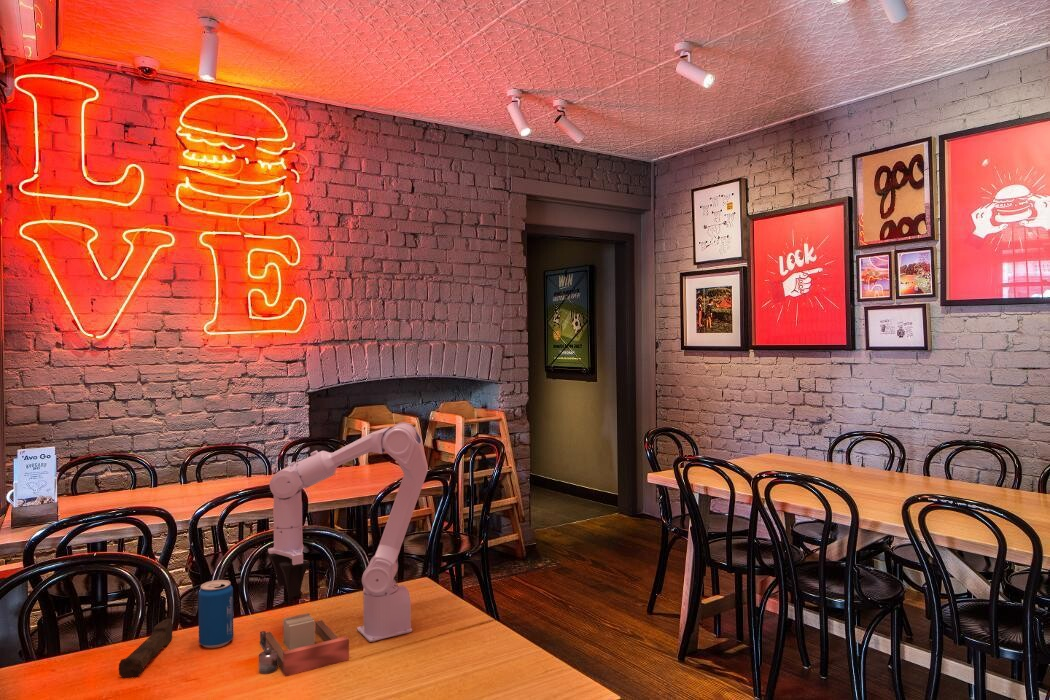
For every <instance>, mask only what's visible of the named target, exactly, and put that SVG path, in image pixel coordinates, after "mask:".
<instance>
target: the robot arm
mask: <svg viewBox="0 0 1050 700" xmlns="http://www.w3.org/2000/svg"><path fill="white" fill-rule="evenodd" d="M385 452H386V453H387V454H388V455H389V456H390V457H391V458H392V459H394V461H396V462H397V464H398V465H399V468H400V470H401V471H402V473H403V477H402V479H401V482H400V484H399V487H398V490H397V493H396V495H395V499H394V502H393V505H392V508H391V510H390V513H389V516H388V518H387V522H386V524H385V527H384V528H383V533H382V535H381V538H380V540H379V544H378V546H377V549H376V551H375V554H374V555H373V556H372V557H371V559H370V560H369V563H368V565H367V567H366V569H365V570H364V571H363V574H362V577H361V584H362V587H363V590H362V591H363V595H362V596H363V597H362V599H363V603H362V604H363V610H362V611H363V625H360V626H358V627H356V630H357V632H359V633H360V635H362V636H363V637H364V638H365V639H366V640H367V641H368V642H370V643H373V642H376V641H380V640H384V639H388V638H392V637H397V636H400V635H404V634H408V633H412V632H413V629H412V624H411V623H412V618H411V617H412V612H411V610H412V609H411V608H412V607H411V606H412V605H411V604H412V603H411V602H412V601H411V596H410V595H411V594H410V591H409V590H408V588H407V586H405V585H404V584H402V585H399V584H398V583H397V582H396V579H395V576H396V575H397V573H398V570H399V562H398V558H399V557H398V556H399V554H400V551H401V547H402V545H403V542H404V539H405V536H406V534H407V530H408V527H409V525H410V522H411V519H412V516H413V514H414V510H415V508H416V504H417V502H418V499H419V497H420V494H421V492H422V489H423V486H424V483H425V480H426V477H427V474H428V472H429V471H428V470H429V467H428V462H427V457H426V454H425V448H424V445H423V439H422V436H421V435H420V434H419V432H418V430H417V429H416V428H415V427H414V426H413V424H411V423H408V422H405V421H404V422H398V423H396V424H395V425H393V426H387V427H384V428H382V429H379V430H375V431H373V432H370V433H369V434H367V435H364V436H363V437H360V438H359V439H356V440H355V441H353V442H351V443H348V444H347V445H345V446H343V447H341V448H339V449H337V450H335V451H334V452H333V451H332V452H329V451H327V450H321V451H318V450H314V451H312V452H311V453H310V454H309V455H310V456H309V457H306V458H304V459H302V460H299V461H297V462H296V461H293V462H291V463H289V466H287V467H286V466H285V467H284V468H282V469H281V470H278V472H276V473H274V475H273V476H271V478H270V481H269V489H270V492H271V493H272V495H273V505H272V507H273V510H272V511H273V515H272V516H273V547H269V548H268V549H267V553H268V557H269V558H270V560H271V562H272V566H273V568H274V572H275V575H276V580H277V584H278V587H284V586H285V588H286V592H287V595H288V598H292V597H296V596H300V595H301V594H300V593H301V591H302V585H303V581H304V577H305V574H306V572H307V569H308V568H309V566H310V561H309V560H308V559H307V560H306V559H305V560H304V553H303V551H304V548H305V547H304V544H303V541H304V539H303V538H304V537H303V535H304V534H303V501H302V499H303V498H302V489H307V488H310V487H312V486H314V485H316V484H319V483H321V482H322V481H324V480H327V479H328V478H331V477H333V476H335V474H336V471H337V468H338V467H339V466H341V465H344V464H346V463H349V462H350V461H352V460H355V459H357V458H360V457H362V456H365V455H367V454H369V453H374V454H380V455H383V454H384V453H385Z"/></svg>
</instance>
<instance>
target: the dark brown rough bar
mask: <svg viewBox="0 0 1050 700" xmlns="http://www.w3.org/2000/svg"><path fill="white" fill-rule="evenodd" d="M152 630H153V632H152V633H151V634H150V636H148V637H147V638H146V639H145V641H143V642H142V643H140V645H138V647H136V649H134V651H132V652H131V653H130V654H129V655H128V656H126V658H122V659H121V660H120V661H119V664H118V675H119V676H120V677H121V678H122V679H125V677H126V679H128V678H129V679H131V678H132V677H133V678H137V677H139V676H140V675H141V673H143V671H144V669H145V667H146V666H147V664H148V663H149V662H150V661H151V660H152V659H154V658H155V656H156V655H157V654H158V653H159V652H160V651H161V650H162V649H164V648H167V647H168V646H169V645H170V643H171V641H172V638H173V631H174V630H173V621H172V619H171V618H170V617H169V618H165V619H163V620H161V621H160V622H159V623H158V624H156V625H155V626H154V627H153V629H152Z"/></svg>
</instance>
